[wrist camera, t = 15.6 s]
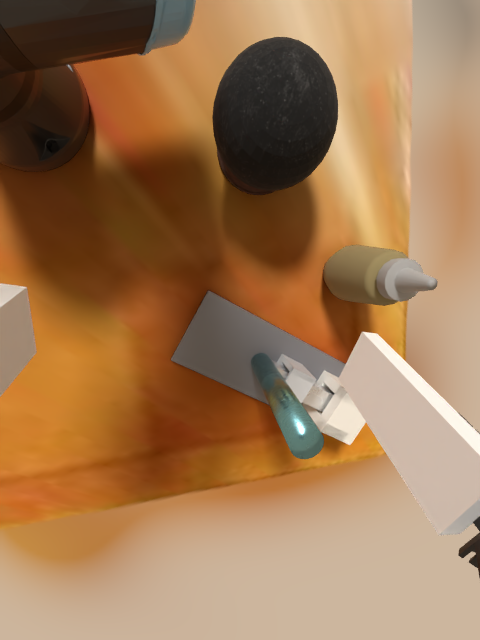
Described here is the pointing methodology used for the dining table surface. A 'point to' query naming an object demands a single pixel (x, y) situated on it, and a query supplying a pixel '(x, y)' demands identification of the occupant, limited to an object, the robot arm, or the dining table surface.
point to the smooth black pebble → (274, 115)
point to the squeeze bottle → (374, 275)
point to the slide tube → (291, 406)
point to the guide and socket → (262, 337)
